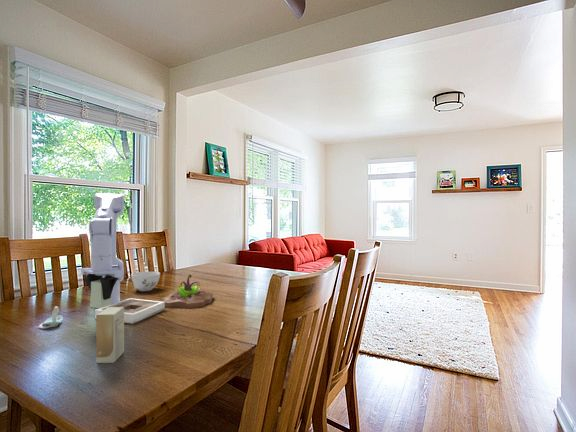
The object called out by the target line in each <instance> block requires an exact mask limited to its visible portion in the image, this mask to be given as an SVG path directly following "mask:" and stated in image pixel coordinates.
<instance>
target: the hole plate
mask: <svg viewBox="0 0 576 432" xmlns="http://www.w3.org/2000/svg"><path fill="white" fill-rule="evenodd" d="M155 304H156V303H147V302H138V301H128V302H125V303H122V304H119V305H116V306H113V307H124V312H125V313H135V312H138V311H140V310H143V309H145V308H148V307H150V306H153V305H155ZM129 309H134V310H129Z"/></svg>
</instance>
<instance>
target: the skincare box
mask: <svg viewBox="0 0 576 432" xmlns="http://www.w3.org/2000/svg"><path fill="white" fill-rule="evenodd" d="M95 320H96V322H95V323H96V334H95V335H96V338H95V339H96V342H95V343H96V347H95V348H96V359H95V360H96V361H95V362H96V364H109V363H110V364H113V363H115V362H117V360H118V359H119V358H120V357H121V356H122V355H123V354H124V353H125V323H124V307H107V308H106V309H104V310H103V311H101V312H100V313H98V314H97V315H96V319H95Z"/></svg>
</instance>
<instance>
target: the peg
mask: <svg viewBox="0 0 576 432" xmlns="http://www.w3.org/2000/svg"><path fill="white" fill-rule="evenodd" d="M90 305H91V306H90V308H96V309H99V308H103V307H106V306H109V305H111V297H110V298H109V299H106V300H104V299H103V290H102V285H101V282H100V280H96V281H92V282H91V292H90Z"/></svg>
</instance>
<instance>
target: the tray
mask: <svg viewBox="0 0 576 432" xmlns="http://www.w3.org/2000/svg"><path fill="white" fill-rule="evenodd" d="M128 301H138V302H147V303H156V304H155V305H153V306H150V307H148V308H145V309H143V310H140V311H138V312H135V313H125V312H124V324H125V323H127V324H135V323H138V322H140V321H143V320H145V319H147V318H149V317H151V316H154V315H156V314H159V313H160V312H163V311H165V307H164V306H165V302H161V301H160V300H151V299H142V298H141V299H140V298H131V297H130V298H126V299H123V300H120V302H117V303H114V304H111V305H109V306H106V307H103V308H96V309H94V318H95V320H96V315H97V314H98V313H100V312H101V311H103V310H104V309H106V308H107V307H113V306H116V305H119V304H122V303H125V302H128ZM129 310H134V309H129Z"/></svg>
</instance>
